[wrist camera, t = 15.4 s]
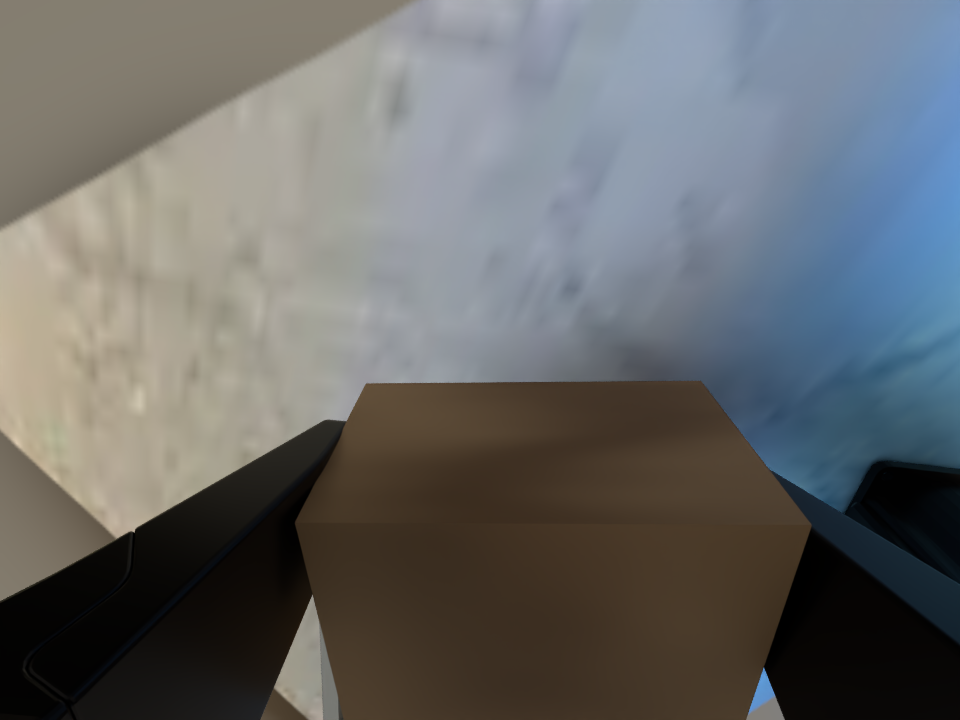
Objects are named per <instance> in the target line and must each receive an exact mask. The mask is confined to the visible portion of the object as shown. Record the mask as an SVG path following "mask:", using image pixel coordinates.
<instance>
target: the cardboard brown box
mask: <svg viewBox="0 0 960 720" xmlns="http://www.w3.org/2000/svg"><path fill="white" fill-rule="evenodd" d="M295 525H296V529H297V533H298V537H299V541H300V545H301V549H302V553H303V558H304V562H305V566H306V570H307V574H308V578H309V582H310V586H311V590H312V594H313V598H314V602H315V606H316V610H317V614H318V618H319V622H320V626H321V630H322V634H323V638H324V642H325V646H326V650H327V654H328V658H329V662H330V666H331V670H332V674H333V678H334V682H335V686H336V690H337V694H338V698H339V702H340V706H341V710H342V715H343V719H344V720H746V718H747V715H748V712H749V709H750V706H751V703H752V700H753V697H754V694H755V692H756V689H757V686H758V683H759V680H760V677H761V674H762V671H763V668H764V665H765V662H766V659H767V656H768V653H769V650H770V647H771V644H772V641H773V638H774V635H775V632H776V629H777V627H778V624H779V621H780V618H781V615H782V612H783V609H784V606H785V603H786V600H787V597H788V594H789V591H790V588H791V585H792V582H793V579H794V576H795V573H796V570H797V567H798V564H799V562H800V559H801V556H802V553H803V550H804V547H805V544H806V541H807V538H808V535H809V532H810V529H811V526H812V525H811V523H810V522H809V521H808V519H807V518H806V517H805V516H804V514H803V513H802V512H801V510H800V509H799V508H798V506H797V505H796V504H795V503H794V501H793V500H792V499H791V497H790V496H789V495H788V493H787V492H786V491H785V490H784V488H783V487H782V486H781V484H780V483H779V482H778V480H777V479H776V478H775V477H774V475H773V474H772V473H771V471H770V470H769V469H768V467H767V466H766V465H765V464H764V462H763V461H762V460H761V458H760V457H759V456H758V454H757V453H756V452H755V451H754V449H753V448H752V447H751V445H750V444H749V443H748V441H747V440H746V439H745V438H744V436H743V435H742V434H741V432H740V431H739V430H738V428H737V427H736V426H735V425H734V423H733V422H732V421H731V419H730V418H729V417H728V415H727V414H726V413H725V412H724V410H723V409H722V408H721V406H720V405H719V404H718V402H717V401H716V400H715V399H714V397H713V396H712V395H711V393H710V392H709V391H708V389H707V388H706V387H705V386H704V384H703V383H702V382H701V381H618V382H496V383H374V384H366V385H365V387H364V388H363V390H362V392H361V394H360V396H359V398H358V400H357V402H356V404H355V406H354V408H353V410H352V412H351V414H350V416H349V418H348V420H347V422H346V424H345V426H344V428H343V430H342V434H341V436H340V439H339V441H338V443H337V445H336V447H335V449H334V451H333V453H332V455H331V457H330V459H329V461H328V463H327V464H326V466H325V468H324V470H323V472H322V473H321V475H320V476H319V478H318V479H317V481H316V482H315V484H314V486H313V488H312V490H311V492H310V494H309V496H308V498H307V500H306V502H305V504H304V506H303V507H302V509H301V511H300V513H299V515H298V517H297V519H296V521H295Z"/></svg>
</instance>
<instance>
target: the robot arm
mask: <svg viewBox="0 0 960 720" xmlns="http://www.w3.org/2000/svg"><path fill="white" fill-rule="evenodd" d="M346 422H347V421H337V420H324V421H322V422H320V423H319V424H317V425H315V426H313V427H312V428H310V429H308V430H306V431H305V432H303V433H301V434H300V435H298V436H296V437H294V438H293V439H291V440H289V441H287V442H286V443H284V444H282V445H280V446H279V447H277V448H275V449H273V450H272V451H270V452H268V453H266V454H265V455H263V456H261V457H259V458H258V459H256V460H254V461H252V462H251V463H249V464H247V465H245V466H244V467H242V468H240V469H238V470H237V471H235V472H233V473H231V474H230V475H228V476H226V477H224V478H223V479H221V480H219V481H217V482H216V483H214V484H212V485H210V486H209V487H207V488H205V489H203V490H202V491H200V492H198V493H196V494H195V495H193V496H191V497H189V498H188V499H186V500H184V501H182V502H181V503H179V504H177V505H175V506H174V507H172V508H170V509H168V510H167V511H165V512H163V513H161V514H160V515H158V516H156V517H154V518H153V519H151V520H149V521H147V522H146V523H144V524H142V525H140V526H139V527H137V528H136V529H135V533H134V532H132V531H130V532H128V533H126V534H124V535H123V536H121V537H119V538H117V539H116V540H114V541H112V542H110V543H109V544H107V545H105V546H104V547H102V548H100V549H98V550H96V551H94V552H93V553H91V554H89V555H87V556H85V557H83V558H82V559H80V560H78V561H76V562H74V563H72V564H71V565H69V566H67V567H65V568H63V569H62V570H60V571H58V572H56V573H54V574H52V575H50V576H48V577H46V578H45V579H43V580H41V581H39V582H37V583H35V584H33V585H31V586H29V587H27V588H25V589H23V590H21V591H19V592H17V593H15V594H14V595H11V596H9V597H7V598H6V599H4V600H2V601H0V720H260V719H261V717H262V714H263V712H264V709H265V707H266V705H267V702H268V700H269V697H270V695H271V693H272V690H273V688H274V686H275V683H276V681H277V678H278V676H279V674H280V671H281V669H282V666H283V664H284V662H285V659H286V657H287V654H288V652H289V650H290V647H291V645H292V642H293V640H294V638H295V635H296V633H297V630H298V628H299V626H300V623H301V621H302V618H303V616H304V614H305V611H306V609H307V606H308V604H309V602H310V599H311V597H312V590H311V586H310V582H309V578H308V574H307V570H306V566H305V562H304V558H303V553H302V549H301V545H300V541H299V537H298V533H297V529H296V525H295V521H296V519H297V517H298V515H299V513H300V511H301V509H302V507H303V506H304V504H305V502H306V500H307V498H308V496H309V494H310V492H311V490H312V488H313V486H314V484H315V482H316V481H317V479H318V478H319V476H320V475H321V473H322V472H323V470H324V468H325V466H326V464H327V463H328V461H329V459H330V457H331V455H332V453H333V451H334V449H335V447H336V445H337V443H338V441H339V439H340V436H341V434H342V430H343V428H344V426H345V424H346ZM769 470H770V469H769ZM770 471H771V470H770ZM885 472H886V473H885ZM771 473H772V474H773V475H774V477H775V478H776V479H777V480H778V482H779V483H780V484H781V486H782V487H783V488H784V490H785V491H786V492H787V493H788V495H789V496H790V497H791V499H792V500H793V501H794V503H795V504H796V505H797V506H798V508H799V509H800V510H801V512H802V513H803V514H804V516H805V517H806V518H807V519H808V521H809V522H810V523H811V525H812V526H811V529H810V532H809V535H808V538H807V541H806V544H805V547H804V550H803V553H802V556H801V559H800V562H799V564H798V567H797V570H796V573H795V576H794V579H793V582H792V585H791V588H790V591H789V594H788V597H787V600H786V603H785V606H784V609H783V612H782V615H781V618H780V621H779V624H778V627H777V629H776V632H775V635H774V638H773V641H772V644H771V647H770V650H769V653H768V656H767V659H766V662H765V665H764V669H765V671H766V674H767V676H768V679H769V681H770V684H771V686H772V689H773V691H774V694H775V696H776V698H777V701H778V704H779V706H780V709H781V711H782V714H783V716H784V719H785V720H960V469H953V468H945V467H936V466H928V465H919V464H911V463H903V462H894V461H880V462H877V463H876V464H874V465H873V466H872V467H871V468H870V470H869V471H868V473H867V475H866V477H865V479H864V480H863V482H862V484H861V486H860V487H859V489H858V491H857V493H856V495H855V496H854V498H853V500H852V502H851V504H850V505H849V507H848V509H847V511H846V512H845V514H842V513H841V512H839V511H838V510H836V509H834V508H833V507H831V506H829V505H828V504H826V503H824V502H823V501H821V500H819V499H818V498H816V497H814V496H813V495H811V494H809V493H808V492H806V491H804V490H803V489H801V488H800V487H798V486H796V485H795V484H793V483H791V482H790V481H788V480H786V479H785V478H783V477H781V476H780V475H778V474H776V473H775V472H773V471H771ZM884 473H885V474H884Z"/></svg>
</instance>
